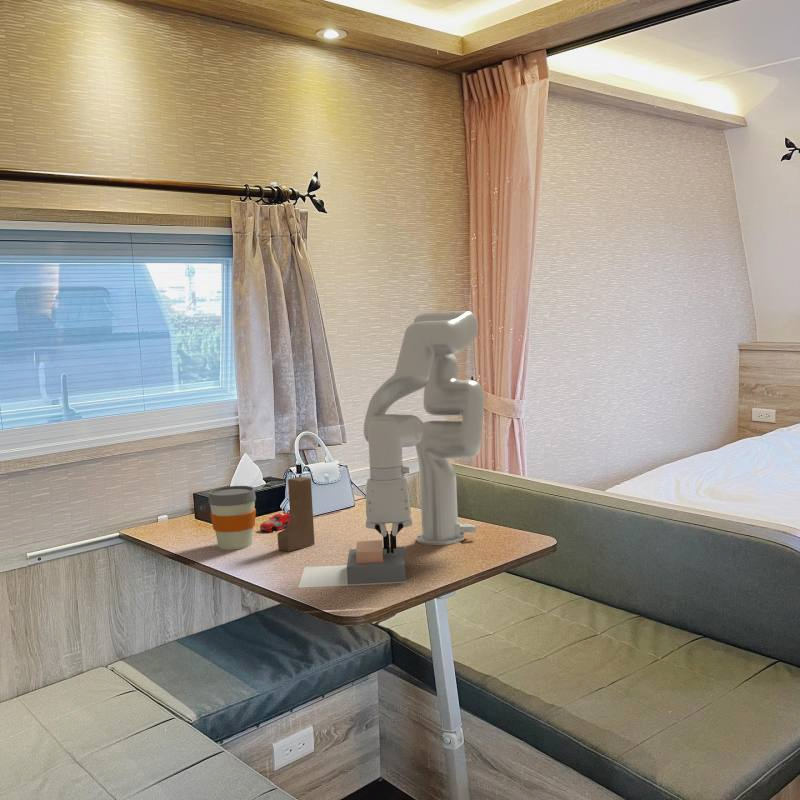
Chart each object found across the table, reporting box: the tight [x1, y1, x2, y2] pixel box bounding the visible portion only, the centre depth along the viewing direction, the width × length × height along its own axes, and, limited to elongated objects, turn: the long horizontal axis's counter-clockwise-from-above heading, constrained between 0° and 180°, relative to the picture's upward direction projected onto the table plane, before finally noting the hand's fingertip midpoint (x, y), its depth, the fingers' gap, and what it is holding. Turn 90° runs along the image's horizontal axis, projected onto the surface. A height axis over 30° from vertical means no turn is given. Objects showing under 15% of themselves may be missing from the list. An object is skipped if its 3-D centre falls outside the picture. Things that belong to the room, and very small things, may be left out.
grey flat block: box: [346, 546, 407, 586], centre depth 189 cm, size 13×14×4 cm
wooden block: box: [277, 476, 315, 553], centre depth 215 cm, size 9×4×18 cm, turn 136°
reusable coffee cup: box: [208, 485, 257, 551], centre depth 220 cm, size 13×13×15 cm
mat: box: [297, 564, 407, 589], centre depth 190 cm, size 24×15×1 cm, turn 91°
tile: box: [355, 539, 384, 563], centre depth 189 cm, size 6×9×2 cm, turn 2°
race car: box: [259, 512, 290, 533], centre depth 238 cm, size 13×5×4 cm, turn 137°
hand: (390, 551), depth 189 cm, fingers closed
